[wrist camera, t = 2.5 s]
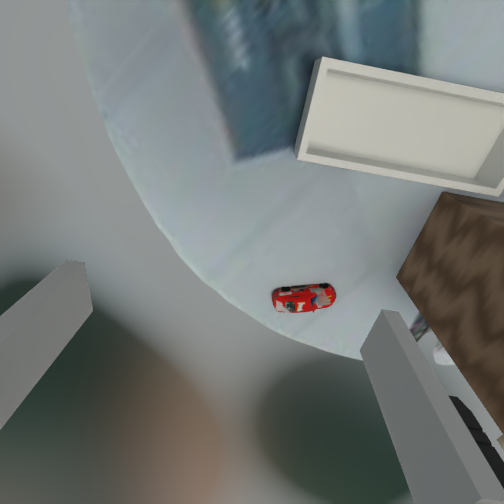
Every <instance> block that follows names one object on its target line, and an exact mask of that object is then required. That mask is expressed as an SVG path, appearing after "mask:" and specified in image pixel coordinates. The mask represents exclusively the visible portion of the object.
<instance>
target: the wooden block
mask: <svg viewBox="0 0 504 504" xmlns="http://www.w3.org/2000/svg"><path fill="white" fill-rule="evenodd" d="M396 278H397V279H398V281H399V282H400V284H401V285H402V287H403V288H404V290H405V291H406V293H407V294H408V295H409V297H410V298H411V300H412V301H413V303H414V304H415V306H416V307H417V309H418V310H419V312H420V313H421V314H422V316H423V317H424V319H425V320H426V322H427V323H428V325H429V326H430V328H431V329H432V331H433V332H434V333H435V335H436V336H437V338H438V339H439V341H440V342H441V344H442V345H443V347H444V348H445V350H446V351H447V353H448V354H449V355H450V357H451V358H452V360H453V361H454V363H455V364H456V366H457V367H458V369H459V370H460V372H461V373H462V374H463V376H464V377H465V379H466V380H467V382H468V383H469V385H470V386H471V388H472V389H473V390H474V392H475V394H476V395H477V396H478V398H479V399H480V401H481V402H482V404H483V405H484V407H485V408H486V410H487V411H488V412H489V414H490V415H491V417H492V418H493V420H494V421H495V423H496V424H497V426H498V427H499V429H500V430H501V432H502V433H503V434H504V203H502V202H496V201H491V200H485V199H480V198H474V197H469V196H464V195H458V194H453V193H447V192H442V194H441V196H440V197H439V199H438V201H437V203H436V205H435V207H434V209H433V210H432V212H431V214H430V216H429V218H428V220H427V221H426V223H425V225H424V227H423V229H422V231H421V232H420V234H419V236H418V238H417V240H416V242H415V244H414V245H413V247H412V249H411V251H410V253H409V255H408V256H407V258H406V260H405V262H404V264H403V266H402V267H401V269H400V271H399V273H398V275H397V277H396Z"/></svg>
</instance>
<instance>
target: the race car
mask: <svg viewBox="0 0 504 504" xmlns="http://www.w3.org/2000/svg"><path fill="white" fill-rule="evenodd" d="M281 290H282V291H281ZM272 295H273V296H272V301H273V305H274V307H275V309H276V310H277V311H278V312H290V313H299V312H309V311H313V312H314V310H316V309H321V308H327V307H329V306H331V305H332V304H333V303H334V301H335V299H336V292H335V290H334V288H333V287H332V286H331V285H329V286H328V284H327V283H325V284H320V285H319V286H318V284H317V285H305V286H294V287H291V289H290V287H282V289H281V288H279V289H276V290H275V291H274V292H273V294H272Z"/></svg>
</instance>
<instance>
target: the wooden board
mask: <svg viewBox="0 0 504 504" xmlns="http://www.w3.org/2000/svg"><path fill="white" fill-rule="evenodd" d="M497 441H498V442H499V444H500V445H501V447H502V449H503V450H504V434H503V435H502V436H500V437H499V438H498V439H497Z"/></svg>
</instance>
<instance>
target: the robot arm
mask: <svg viewBox="0 0 504 504" xmlns="http://www.w3.org/2000/svg"><path fill="white" fill-rule="evenodd" d="M92 311H93V308H92V302H91V296H90V291H89V285H88V280H87V274H86V268H85V263H84V262H78V261H71V260H65V261H64V262H63V263H62V264H61V265H60V266H58V267H57V268H56V269H55V270H54V271H53V272H51V273H50V274H49V275H48V276H47V277H46V278H44V279H43V280H42V281H41V282H40V283H39V284H37V285H36V286H35V287H34V288H33V289H32V290H30V291H29V292H28V293H27V294H26V295H25V296H23V297H22V298H21V299H20V300H19V301H18V302H16V304H14V305H13V306H12V307H11V308H9V309H8V310H7V311H6V312H5V313H4V314H3V315H1V316H0V429H1V428H2V427H3V426H4V424H5V423H6V422H7V420H8V419H9V418H10V417H11V415H12V414H13V413H14V411H15V410H16V409H17V407H18V406H19V405H20V404H21V402H22V401H23V400H24V398H25V397H26V396H27V395H28V393H29V392H30V391H31V389H32V388H33V387H34V386H35V384H36V383H37V382H38V381H39V379H40V378H41V377H42V375H43V374H44V373H45V372H46V370H47V369H48V368H49V366H50V365H51V364H52V363H53V361H54V360H55V358H56V357H57V356H58V355H59V354H60V352H61V351H62V350H63V348H64V347H65V346H66V344H67V343H68V342H69V341H70V339H71V338H72V337H73V336H74V334H75V333H76V332H77V330H78V329H79V328H80V327H81V325H82V324H83V323H84V321H85V320H86V319H87V317H88V316H89V315H90V314H91V312H92ZM360 352H361V355H362V358H363V361H364V363H365V366H366V369H367V372H368V375H369V377H370V380H371V382H372V386H373V388H374V391H375V394H376V397H377V400H378V402H379V405H380V408H381V411H382V414H383V416H384V419H385V422H386V425H387V427H388V430H389V433H390V436H391V438H392V441H393V444H394V447H395V450H396V452H397V455H398V458H399V461H400V464H401V466H402V469H403V472H404V475H405V477H406V480H407V483H408V486H409V489H410V492H411V494H412V497H413V500H414V503H415V504H504V462H503V460H502V459H501V457H500V456H499V454H498V452H497V451H496V449H495V448H494V447H492V445H491V442H490V440H489V439H488V437H487V435H486V434H485V433H484V432H483V431H482V427H481V426H480V424H479V423H478V421H477V420H476V418H475V416H474V415H473V413H472V412H471V411H470V410H469V409H468V408H467V407H466V406H465V405H464V404H463V402H461V400H459V398H458V397H454V396H448V395H447V393H446V392H445V389H444V388H443V386H442V384H441V383H440V381H439V379H438V378H437V376H436V374H435V373H434V371H433V369H432V368H431V366H430V364H429V363H428V361H427V359H426V357H425V356H424V354H423V353H422V351H421V349H420V347H419V346H418V344H417V342H416V341H415V339H414V337H413V336H412V334H411V332H410V331H409V329H408V327H407V325H406V324H405V322H404V320H403V319H402V317H401V315H400V314H399V312H396V311H389V310H383V309H382V310H381V312H380V314H379V316H378V318H377V319H376V321H375V323H374V325H373V327H372V329H371V331H370V332H369V334H368V336H367V338H366V340H365V342H364V343H363V345H362V347H361V349H360Z"/></svg>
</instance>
